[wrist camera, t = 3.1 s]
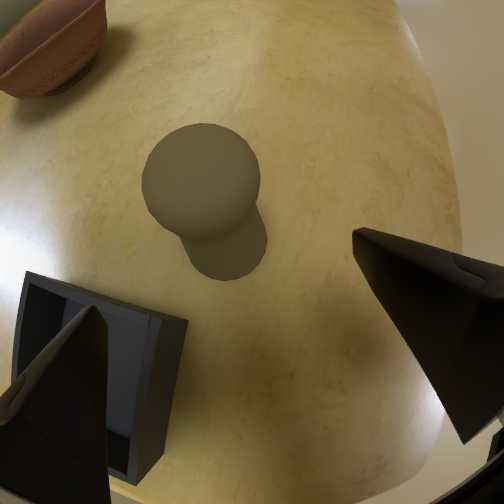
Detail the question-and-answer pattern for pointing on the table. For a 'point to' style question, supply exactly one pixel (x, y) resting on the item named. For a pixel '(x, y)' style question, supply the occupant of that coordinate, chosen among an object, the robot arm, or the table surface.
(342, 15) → the table surface
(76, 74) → the bowl
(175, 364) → the dark grey square box
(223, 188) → the cork
